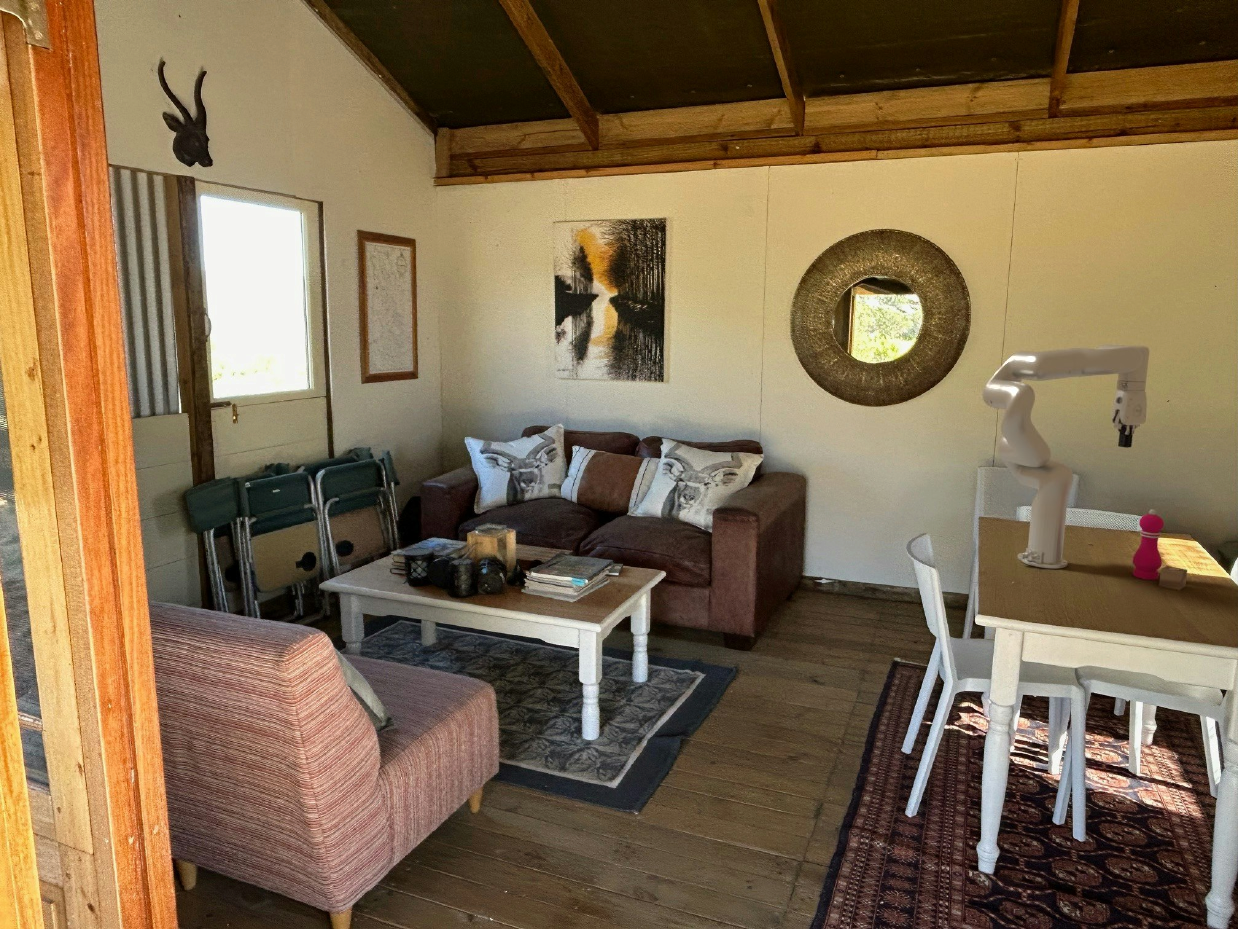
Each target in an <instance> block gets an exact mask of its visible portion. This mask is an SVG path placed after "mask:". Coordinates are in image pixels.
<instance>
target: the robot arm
mask: <svg viewBox="0 0 1238 929" xmlns="http://www.w3.org/2000/svg"><path fill="white" fill-rule="evenodd" d="M1149 357H1150V348H1149V347H1148V346H1144V345H1124V344H1123V345H1119V344H1105V345H1099V346H1098V347H1097V348H1088V347H1070V348H1069V347H1068V348H1061V349H1055V350H1054V349H1053V350H1052V349H1051V350H1045V351H1028V350H1019V351H1017V352H1015V353H1013V354H1012V355H1011V356H1010V357H1008V359H1007V360H1005V361H1004V362H1003V363H1002V365H1000V367H999V368H998V370H996V371H995V373H994V374H993V375H992V376H991V377H990V378H989V380H988V381H987V382H986V383H985V385H984V387H983V389H982V400H983V402H984V403H985V405H987V406H989V407H990V408H994V409H1000V410H1004V413H1003V417H1002V419H1001V420H1002V421H1001V423H1000V424H1001V425H1000V431H1001V434H1002V437H1001V438H1000V439H999V442H998V445H997V451H998V455H999V457H1000V460H1002V462H1003V464H1004V465H1005V466H1006V468H1007V469H1008V470H1009V471H1010V473H1011V474H1012V476H1013V477H1014V478H1015V479H1016V480H1017V481H1018V483H1020V484H1021V485H1023V486H1025V487H1029V488H1032V489H1035V490H1037V493H1036V495H1035V496H1034V498H1033V500H1032V503H1031V509H1030V520H1029V521H1030V523H1029V531H1028V533H1029V534H1028V543H1027V544H1028V545H1027V547H1026V549H1025V551H1024V552H1019V553H1018V554H1017V559H1018V560H1021V562H1023V563H1024V564H1026V565H1029V566H1032V567H1036V568H1042V569H1062V568H1063V569H1064V568H1066V567H1067V566H1068V561H1067V560H1066V559H1064V558H1063V552H1064V541H1065V530H1066V520H1067V509H1068V501H1069V496H1070V493H1071V489H1072V486H1073V484H1074V479H1075V478H1074V473H1073V471H1072V469H1071V467H1069V466H1068V464H1065V463H1063V462H1061V461H1057V460H1053V459H1051V457H1052V456H1051V455H1052V452H1051V448H1050V446H1049V445H1048V443H1047V442H1046V440H1045V439H1044V438H1043V436H1042V435H1041V434H1040V432H1039V431H1038V429H1037V428H1036V427H1035V425H1034V424H1033V422H1032V418H1031V417H1032V416H1031V415H1032V411H1033V408H1034V404H1035V401H1036V395H1035V390H1034V389H1033V387H1032V386H1031V385H1029V384H1027V383H1025V382H1022V380H1024V381H1025V380H1026V381H1034V382H1041V381H1042V382H1044V381H1052V380H1058V379H1059V380H1061V379H1067V378H1076V377H1077V378H1078V377H1079V378H1081V377H1082V378H1083V377H1092V376H1105V375H1108V376H1109V375H1116V374H1117V382H1116V392H1115V396H1114V400H1113V405H1112V410H1111V411H1112V412H1111V422H1112V423H1113V429H1117V431H1118V432H1117V433H1118V434H1119V435H1118V442H1117V443H1118V444H1117V446H1118V447H1120V448H1126V449H1127V448H1128V449H1129V448H1132V445H1133V435H1134V434H1135V431H1136V429H1137V428H1139V427H1140V426H1141V425H1143V424H1144V423H1146V421H1147V407H1148V406H1147V405H1148V403H1147V402H1148V400H1147V399H1148V398H1147V393H1146V387H1147V378H1148V368H1149Z"/></svg>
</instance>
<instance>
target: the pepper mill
mask: <svg viewBox="0 0 1238 929" xmlns="http://www.w3.org/2000/svg"><path fill="white" fill-rule="evenodd" d="M1148 513H1149V514H1144V515H1143V516H1141V517H1140V519H1139V522H1138V524H1139V525H1138V526H1139V527H1140V528H1141V530H1140V533H1139V535H1140V536H1141V540H1140V544H1139V546H1138V548H1137V550H1136V552H1135V553H1134V555H1133V558H1132V564H1133V565H1134V568H1133V572H1132V575H1133V576H1134V577H1135V578H1138V579H1141V578H1142V580H1148V581H1149V580H1150V581H1151V580H1152V581H1154V580H1158V578H1159V573H1160V572H1159V571H1158V570H1159V569H1161V567H1162V563H1163V562H1162V557H1161V554H1160V552H1159V547H1158V541H1159V538H1161V534H1162V533H1161V530H1163V528H1164V525H1165V522H1164V520H1163V518H1162V517H1160V516H1159V515H1158V514H1157V510H1155V509H1150V510H1149V511H1148Z"/></svg>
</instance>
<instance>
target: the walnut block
mask: <svg viewBox="0 0 1238 929" xmlns="http://www.w3.org/2000/svg"><path fill="white" fill-rule="evenodd" d="M1187 574H1188V569H1186V568H1180V567H1176V566H1170V565H1166V566H1164V567H1163V568H1160V575H1159V583H1158V586H1159V587H1161V586H1162V587H1163V588H1167V589H1171V588H1172V589H1171V590H1176V589H1178V590H1177V591H1180V589H1181V590H1182V589H1183V588H1186V582H1187V577H1188V576H1187Z"/></svg>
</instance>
